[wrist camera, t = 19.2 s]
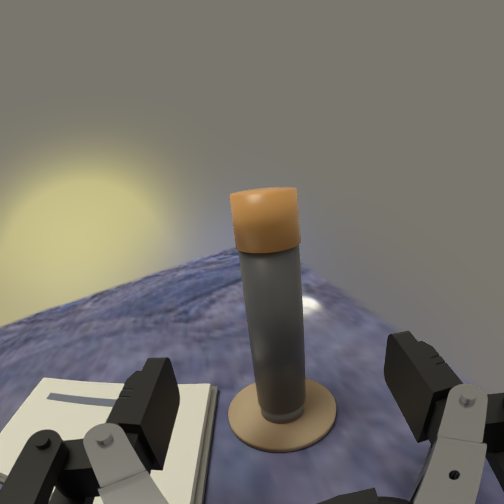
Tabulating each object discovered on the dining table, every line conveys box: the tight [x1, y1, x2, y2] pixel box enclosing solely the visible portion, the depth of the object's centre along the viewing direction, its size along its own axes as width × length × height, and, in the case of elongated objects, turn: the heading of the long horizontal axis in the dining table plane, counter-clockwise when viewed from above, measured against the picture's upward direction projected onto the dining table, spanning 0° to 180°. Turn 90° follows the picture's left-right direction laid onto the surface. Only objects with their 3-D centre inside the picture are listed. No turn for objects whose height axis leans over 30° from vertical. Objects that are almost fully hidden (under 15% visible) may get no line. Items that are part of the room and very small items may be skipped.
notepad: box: [0, 378, 218, 504], centre depth 17 cm, size 16×12×1 cm
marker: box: [230, 187, 306, 424], centre depth 17 cm, size 3×3×14 cm
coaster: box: [228, 378, 336, 453], centre depth 19 cm, size 7×7×1 cm
